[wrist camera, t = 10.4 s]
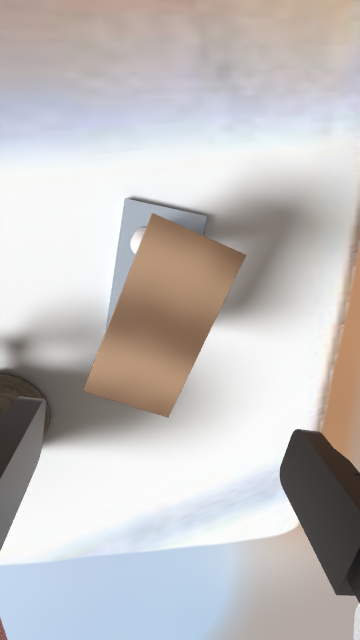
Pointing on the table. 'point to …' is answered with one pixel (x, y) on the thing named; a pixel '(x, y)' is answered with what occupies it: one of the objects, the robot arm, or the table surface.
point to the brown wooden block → (162, 316)
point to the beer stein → (7, 388)
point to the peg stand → (132, 234)
